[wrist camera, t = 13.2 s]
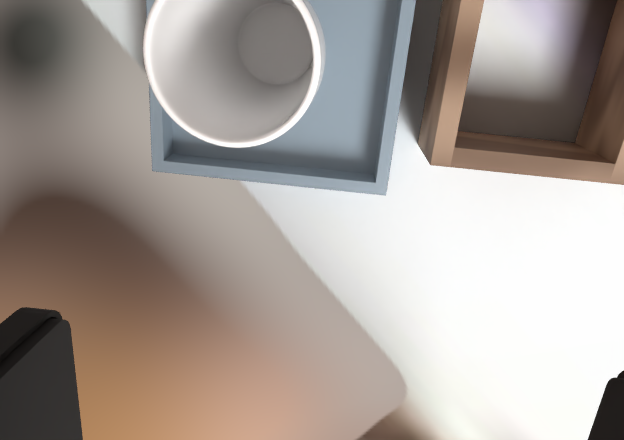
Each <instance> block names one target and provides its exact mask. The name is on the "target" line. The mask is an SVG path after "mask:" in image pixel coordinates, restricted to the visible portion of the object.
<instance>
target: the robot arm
mask: <svg viewBox="0 0 624 440" xmlns="http://www.w3.org/2000/svg"><path fill="white" fill-rule="evenodd" d="M0 440H83V438H82V428H81V419H80V410H79V401H78V393H77V383H76V373H75V364H74V355H73V346H72V337H71V328H70V324H69V322H68V321H66V320H62V316H61V315H60V313H59V312H57V311H55V310H46V309H36V308H27V307H26V308H20V309H19V310H17V311H16V312H14V313H13V314H12V315H11V316H9V317H8V318H7V319H6V320H5V321H3V322H2V323H1V324H0ZM588 440H624V371H622V372H621V373H620V374H619V375H618V377H617V378H611V379H610V380H609V381H608V383H607V385H606V388H605V391H604V394H603V397H602V400H601V403H600V406H599V409H598V411H597V414H596V417H595V420H594V423H593V426H592V429H591V432H590V435H589V438H588Z"/></svg>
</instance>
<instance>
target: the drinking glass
mask: <svg viewBox="0 0 624 440" xmlns="http://www.w3.org/2000/svg"><path fill="white" fill-rule="evenodd" d="M143 58H144V65H145V70H146V74H147V77H148V80H149V83H150V86H151V88H152V90H153V92H154V94H155V96H156V98H157V100H158V101H159V103H160V105H161V106H162V107H163V109H164V110H165V111H166V113H167V114H168V115H169V116H170V117H171V118H172V119H173V120H174V121H175V122H176V123H177V124H178V125H179V126H180V127H182V128H183V129H184V130H186V131H187V132H189V133H190V134H192V135H193V136H195V137H197V138H199V139H201V140H204V141H206V142H209V143H212V144H215V145H219V146H224V147H234V148H242V147H251V146H256V145H260V144H264V143H266V142H269V141H271V140H273V139H275V138H277V137H279V136H281V135H282V134H284V133H285V132H286V131H288V130H289V129H290V128H291V127H293V126H294V125H295V124H296V123H297V122H298V120H299V119H300V118H301V117H302V116H303V114H304V113H305V112H306V111H307V109H308V108H309V106H310V105H311V103H312V102H313V100H314V98H315V96H316V94H317V92H318V90H319V88H320V85H321V82H322V79H323V76H324V71H325V65H326V41H325V35H324V31H323V27H322V25H321V22H320V19H319V17H318V15H317V13H316V11H315V9H314V7H313V6H312V4H311V3H310V1H309V0H155V1H154V3H153V5H152V7H151V9H150V12H149V15H148V17H147V21H146V25H145V30H144V36H143Z"/></svg>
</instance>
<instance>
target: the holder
mask: <svg viewBox="0 0 624 440" xmlns="http://www.w3.org/2000/svg"><path fill="white" fill-rule="evenodd" d="M483 3H484V0H443V1H442V7H441V13H440V19H439V24H438V30H437V36H436V42H435V47H434V53H433V59H432V65H431V71H430V76H429V82H428V88H427V94H426V99H425V105H424V111H423V117H422V122H421V128H420V134H419V140H418V145H419V147H420V149H421V150H422V152H423V154H424V155H425V157H426V159H427V160H428V162H429V164H430V165H436V166H445V167H455V168H465V169H475V170H484V171H494V172H504V173H514V174H523V175H533V176H543V177H553V178H562V179H572V180H582V181H592V182H601V183H611V184H621V185H624V0H617V3H616V6H615V9H614V13H613V16H612V19H611V23H610V26H609V30H608V33H607V36H606V40H605V43H604V46H603V50H602V53H601V57H600V60H599V63H598V67H597V70H596V73H595V77H594V80H593V84H592V87H591V90H590V94H589V97H588V100H587V104H586V107H585V110H584V114H583V117H582V121H581V124H580V127H579V131H578V134H577V137H576V141H575V143H572V142H562V141H552V140H542V139H532V138H522V137H512V136H503V135H493V134H483V133H473V132H463V131H458V126H459V121H460V117H461V112H462V107H463V102H464V97H465V92H466V87H467V82H468V77H469V72H470V67H471V62H472V57H473V52H474V47H475V42H476V38H477V33H478V28H479V23H480V18H481V13H482V8H483Z"/></svg>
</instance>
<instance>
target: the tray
mask: <svg viewBox="0 0 624 440" xmlns="http://www.w3.org/2000/svg"><path fill="white" fill-rule="evenodd" d="M154 1H155V0H146V13H147V17H148V15H149V12H150V9H151V7H152V5H153V3H154ZM309 1H310V3H311V4H312V6H313V7H314V9H315V11H316V13H317V15H318V17H319V19H320V22H321V25H322V27H323V31H324V35H325V41H326V65H325V71H324V76H323V79H322V82H321V85H320V88H319V90H318V92H317V94H316V96H315V98H314V100H313V102H312V103H311V105H310V106H309V108H308V109H307V111H306V112H305V113H304V114H303V116H302V117H301V118H300V119H299V120H298V122H297V123H296V124H295V125H294V126H293V127H291V128H290V129H289V130H288V131H286V132H285V133H284V134H282V135H281V136H279V137H277V138H275V139H273V140H271V141H269V142H266V143H264V144H260V145H256V146H251V147H242V148H234V147H224V146H219V145H215V144H212V143H209V142H206V141H204V140H201V139H199V138H197V137H195V136H193V135H192V134H190V133H189V132H187V131H186V130H184V129H183V128H182V127H180V126H179V125H178V124H177V123H176V122H175V121H174V120H173V119H172V118H171V117H170V116H169V115H168V114H167V113H166V111H165V110H164V109H163V107H162V106H161V105H160V103H159V101H158V100H157V98H156V96H155V94H154V92H153V90H152V88H151V86H150V83H149V95H150V123H151V150H152V171H156V172H165V173H175V174H185V175H195V176H204V177H213V178H223V179H233V180H242V181H252V182H261V183H271V184H281V185H290V186H300V187H309V188H319V189H329V190H338V191H348V192H357V193H367V194H377V195H386V192H387V185H388V179H389V172H390V166H391V159H392V153H393V146H394V140H395V133H396V127H397V120H398V114H399V107H400V101H401V94H402V88H403V82H404V75H405V69H406V62H407V56H408V49H409V43H410V36H411V30H412V23H413V17H414V10H415V4H416V0H309Z"/></svg>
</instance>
